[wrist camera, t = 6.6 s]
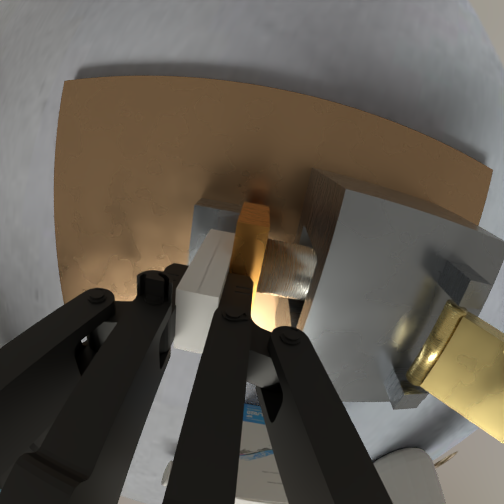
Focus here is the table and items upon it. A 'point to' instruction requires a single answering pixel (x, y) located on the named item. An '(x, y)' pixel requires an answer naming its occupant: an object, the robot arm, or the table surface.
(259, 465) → the ink box
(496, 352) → the tab
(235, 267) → the lynch pin
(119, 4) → the table surface
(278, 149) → the block
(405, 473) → the soap bottle
